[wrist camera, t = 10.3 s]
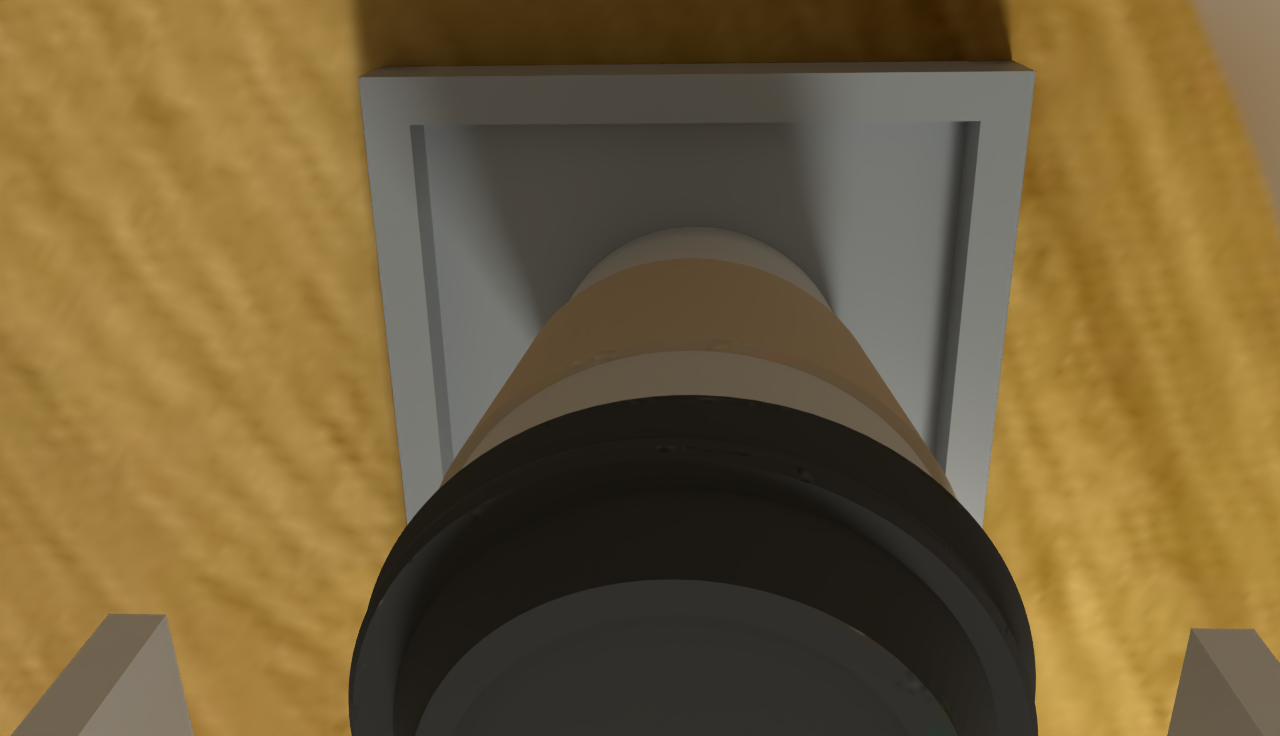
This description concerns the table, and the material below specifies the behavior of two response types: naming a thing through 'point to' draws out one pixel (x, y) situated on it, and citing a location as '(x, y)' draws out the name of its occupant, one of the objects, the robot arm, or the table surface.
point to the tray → (697, 218)
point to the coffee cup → (694, 534)
